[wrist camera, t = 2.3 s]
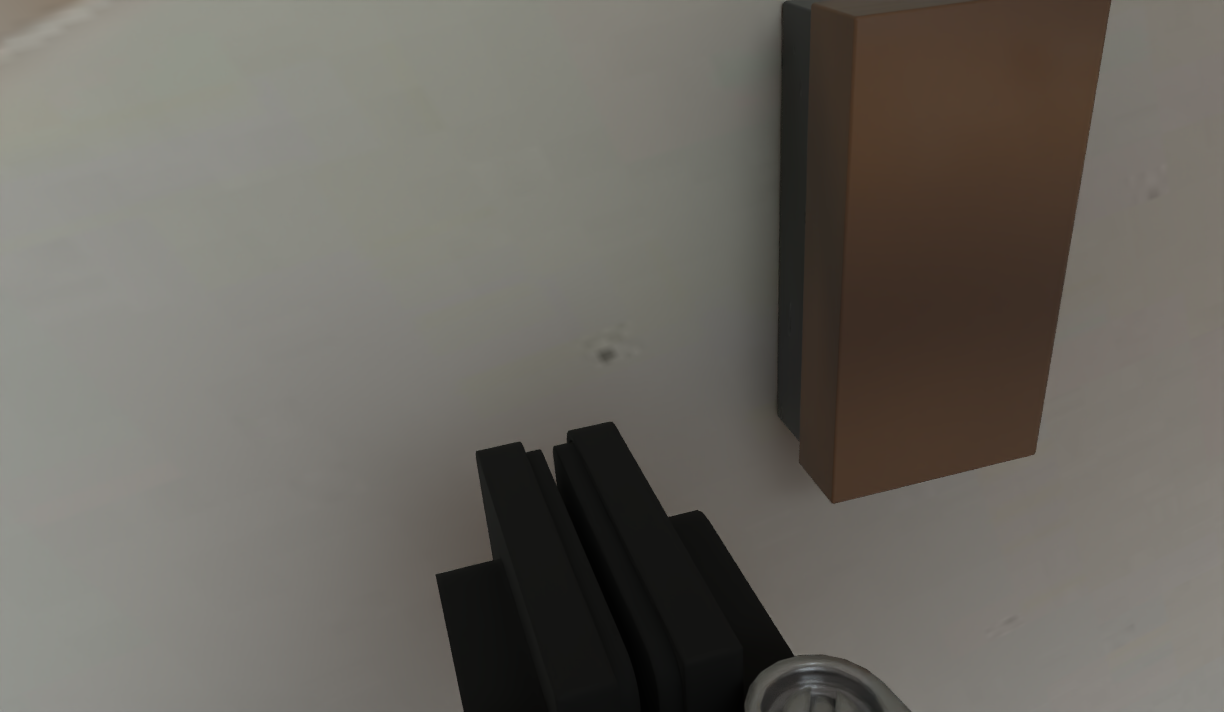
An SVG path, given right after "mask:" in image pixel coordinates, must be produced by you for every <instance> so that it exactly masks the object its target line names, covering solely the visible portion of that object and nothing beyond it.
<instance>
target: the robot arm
mask: <svg viewBox="0 0 1224 712" xmlns="http://www.w3.org/2000/svg"><path fill="white" fill-rule="evenodd" d="M553 458H554V466H555V474H556V482H557V486H556V483H555V481H554V479H553V476H552V474H551V472H550V469H549V467H548V464H547V462H546V460H545V457H544V455H543V453H542V451H541V450H540V449H539V450H535V451H530V452H525V450H524V447H523V445H522V443H521V442H515V443H511V444H506V445H502V446H497V447H493V448H488V449H484V450H479V451H476V461H477V467H478V473H479V479H480V485H481V491H482V497H483V503H484V509H485V515H486V521H487V527H488V533H489V539H490V545H491V551H492V556H493V561H489V562H484V563H480V564H476V565H472V566H468V567H464V568H460V569H456V570H452V571H448V572H444V573H440V574H436V579H437V584H438V589H439V593H440V598H441V603H442V608H443V613H444V618H445V623H446V628H447V632H448V637H449V642H450V647H451V652H452V657H453V662H454V666H455V671H456V676H457V681H458V686H459V691H460V695H461V700H462V705H463V710H464V712H911V711H910V710H909V709H908V708H907V706H906V705H905V704H904V703H903V702H902V701H901V700H900V699H899V698H898V697H897V696H896V695H895V694H894V693H893V692H892V691H891V690H890V689H889V688H888V687H887V686H886V685H885V684H884V683H883V682H882V681H881V680H880V679H878V678H877V677H876V676H875V675H873V674H872V673H871V672H870V671H868V670H867V669H865V668H863V667H861V666H859V665H857V664H854V663H852V662H850V661H848V660H846V659H842V658H837V657H832V656H827V655H798V656H794V655H793V653H792V651H791V650H790V648H789V647H788V645H787V644H786V642H785V640H784V639H783V637H782V636H781V634H780V632H779V631H778V629H777V628H776V626H775V625H774V623H773V621H772V620H771V618H770V617H769V615H768V613H767V612H766V610H765V609H764V607H763V605H762V604H761V602H760V601H759V599H758V598H757V596H756V594H755V593H754V591H753V590H752V588H751V586H750V585H749V583H748V582H747V580H746V579H745V577H744V575H743V574H742V572H741V571H740V569H739V567H738V566H737V564H736V563H735V561H734V560H733V558H732V556H731V555H730V553H729V552H728V550H727V548H726V547H725V545H724V544H723V542H722V541H721V539H720V537H719V536H718V534H717V533H716V531H715V529H714V528H713V526H712V525H711V523H710V522H709V520H708V519H707V518H706V516H705V515H704V514H703V513H702V512H700V511H698V510H696V511H692V512H687V513H683V514H679V515H675V516H671V517H668V516H667V515H666V513H665V511H664V509H663V508H662V506H661V504H660V502H659V501H658V499H657V497H656V495H655V494H654V492H653V490H652V488H651V487H650V485H649V483H648V481H647V480H646V478H645V476H644V474H643V473H642V471H641V469H640V467H639V466H638V464H637V462H636V461H635V459H634V457H633V455H632V454H631V452H630V450H629V448H628V447H627V445H626V443H625V441H624V440H623V438H622V436H621V434H620V433H619V431H618V429H617V427H616V426H615V424H614V423H613V422H606V423H601V424H597V425H592V426H588V427H583V428H579V429H574V430H570V431H568V433H567V443H566V444H562V445H557V446H554V447H553Z"/></svg>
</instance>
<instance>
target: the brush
mask: <svg viewBox="0 0 1224 712" xmlns="http://www.w3.org/2000/svg"><path fill="white" fill-rule="evenodd" d="M1110 5H1111V0H788V1H785V2H784V3H783V46H782V121H781V196H780V271H779V346H778V417H779V418H780V419H781V420H782V421H783V423H784V424H785V425H786V426H787V427H788V429H789V430H790V431H791V432H792V433H793V435H794V436H795V437H796V438H797V439H798V441H799V442H800V443H799V463H800V465H801V466H802V467H803V468H804V470H805V471H806V472H807V473H808V474H809V476H810V477H811V478H812V479H813V481H814V482H815V483H816V484H817V486H818V487H819V488H820V489H821V491H822V492H823V493H824V494H825V496H826V497H827V498H828V499H829V501H830V502H831V503H833V504H835V503H839V502H843V501H847V500H851V499H855V498H859V497H864V496H868V495H872V494H876V493H880V492H884V491H888V490H892V489H896V488H900V487H904V486H908V485H912V484H917V483H921V482H925V481H929V480H933V479H937V478H941V477H945V476H949V475H953V474H957V473H961V472H965V471H969V470H974V469H978V468H982V467H986V466H990V465H994V464H998V463H1002V462H1006V461H1010V460H1014V459H1018V458H1022V457H1027V456H1031V455H1034V454H1035V452H1036V446H1037V441H1038V435H1039V429H1040V423H1041V417H1042V411H1043V405H1044V399H1045V393H1046V387H1047V381H1048V375H1049V369H1050V363H1051V357H1052V351H1053V345H1054V339H1055V333H1056V327H1057V321H1058V315H1059V309H1060V303H1061V297H1062V291H1063V285H1064V279H1065V273H1066V267H1067V262H1068V256H1069V250H1070V244H1071V238H1072V232H1073V226H1074V220H1075V214H1076V208H1077V202H1078V196H1079V190H1080V184H1081V178H1082V172H1083V166H1084V160H1085V154H1086V148H1087V142H1088V136H1089V130H1090V124H1091V118H1092V112H1093V106H1094V100H1095V94H1096V88H1097V83H1098V77H1099V71H1100V65H1101V59H1102V53H1103V47H1104V41H1105V35H1106V29H1107V23H1108V17H1109V11H1110Z"/></svg>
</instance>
